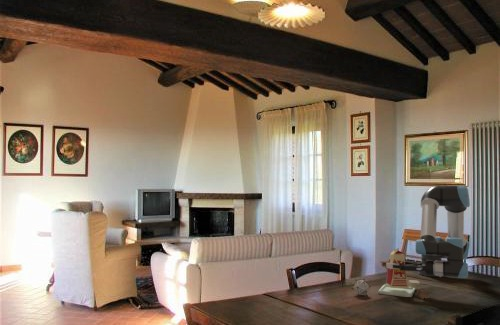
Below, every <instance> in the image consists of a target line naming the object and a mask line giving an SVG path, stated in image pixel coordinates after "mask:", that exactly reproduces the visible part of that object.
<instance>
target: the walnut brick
mask: <svg viewBox="0 0 500 325" xmlns="http://www.w3.org/2000/svg"><path fill="white" fill-rule="evenodd" d="M429 292H430V291H429V290H428V289H426V288H424V287H423V288H421V287H420V289H417V290H416V297H417V298H418V299H422V300H424V298H425V299H429V298H430V296H429V294H430V293H429Z"/></svg>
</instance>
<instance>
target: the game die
mask: <svg viewBox="0 0 500 325" xmlns="http://www.w3.org/2000/svg"><path fill="white" fill-rule="evenodd" d="M354 280H355V282H354V285H353V287H352V288H351V290H354V291H355V293H356V294H357V296H358V297H360V296H366V297H368V294H367V293H368V292H369V289H370V287H372V285H369V284H368V283H367V282H366V281H365V278H363V279H360V280H359V279H358V280H357V279H356V278H355V279H354Z"/></svg>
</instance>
